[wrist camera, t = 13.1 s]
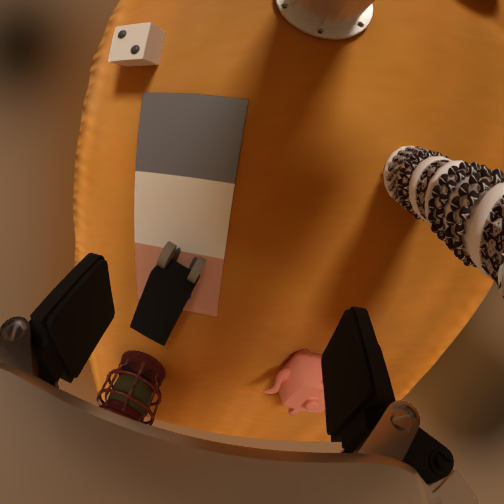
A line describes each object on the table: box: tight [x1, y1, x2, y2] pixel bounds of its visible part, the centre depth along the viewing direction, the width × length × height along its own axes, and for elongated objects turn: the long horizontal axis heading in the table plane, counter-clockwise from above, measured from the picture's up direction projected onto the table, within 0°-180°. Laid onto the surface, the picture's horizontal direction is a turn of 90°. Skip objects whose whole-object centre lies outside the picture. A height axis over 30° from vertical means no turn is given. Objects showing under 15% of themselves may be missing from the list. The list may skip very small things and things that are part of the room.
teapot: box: [263, 349, 325, 415], centre depth 45 cm, size 14×12×10 cm
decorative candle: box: [383, 146, 504, 298], centre depth 21 cm, size 9×9×25 cm
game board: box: [134, 93, 249, 317], centre depth 37 cm, size 33×14×1 cm, turn 171°
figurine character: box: [130, 241, 207, 346], centre depth 39 cm, size 7×8×15 cm
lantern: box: [97, 351, 165, 426], centre depth 40 cm, size 12×12×30 cm
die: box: [108, 22, 166, 67], centre depth 25 cm, size 5×5×5 cm
